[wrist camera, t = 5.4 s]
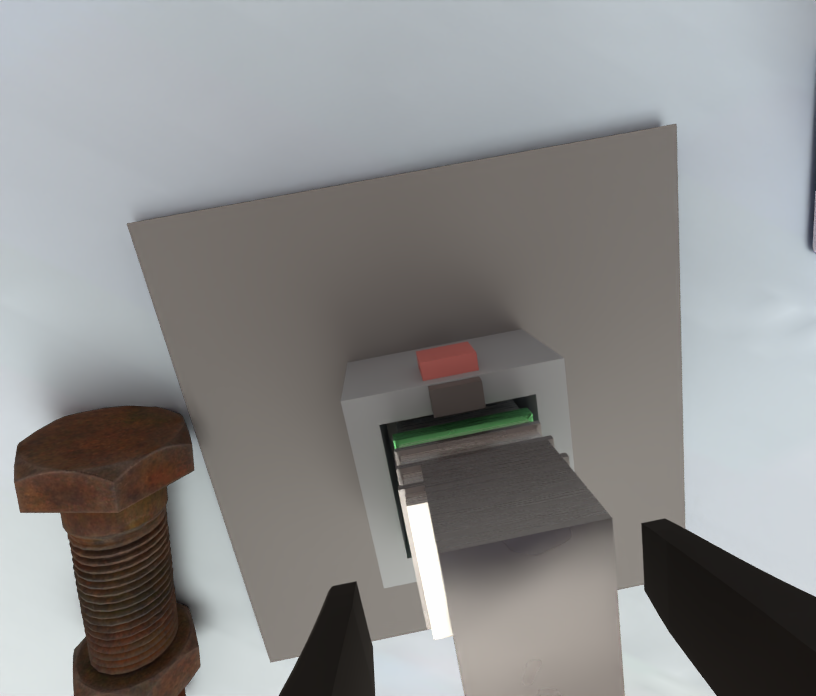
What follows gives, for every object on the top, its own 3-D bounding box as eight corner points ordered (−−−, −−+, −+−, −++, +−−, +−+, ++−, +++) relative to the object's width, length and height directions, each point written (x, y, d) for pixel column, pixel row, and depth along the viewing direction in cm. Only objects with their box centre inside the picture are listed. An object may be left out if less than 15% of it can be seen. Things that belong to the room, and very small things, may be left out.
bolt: (167, 657, 24) (136, 391, 20) (239, 703, 22) (222, 419, 18) (44, 771, 19) (-33, 448, 15) (123, 844, 17) (61, 494, 13)
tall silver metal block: (512, 370, 15) (649, 510, 8) (531, 523, 17) (661, 763, 9) (386, 395, 15) (400, 561, 8) (416, 546, 17) (453, 808, 9)
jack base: (663, 128, 18) (785, 86, 12) (675, 563, 23) (765, 663, 18) (137, 223, 17) (34, 222, 12) (274, 647, 22) (244, 775, 17)
